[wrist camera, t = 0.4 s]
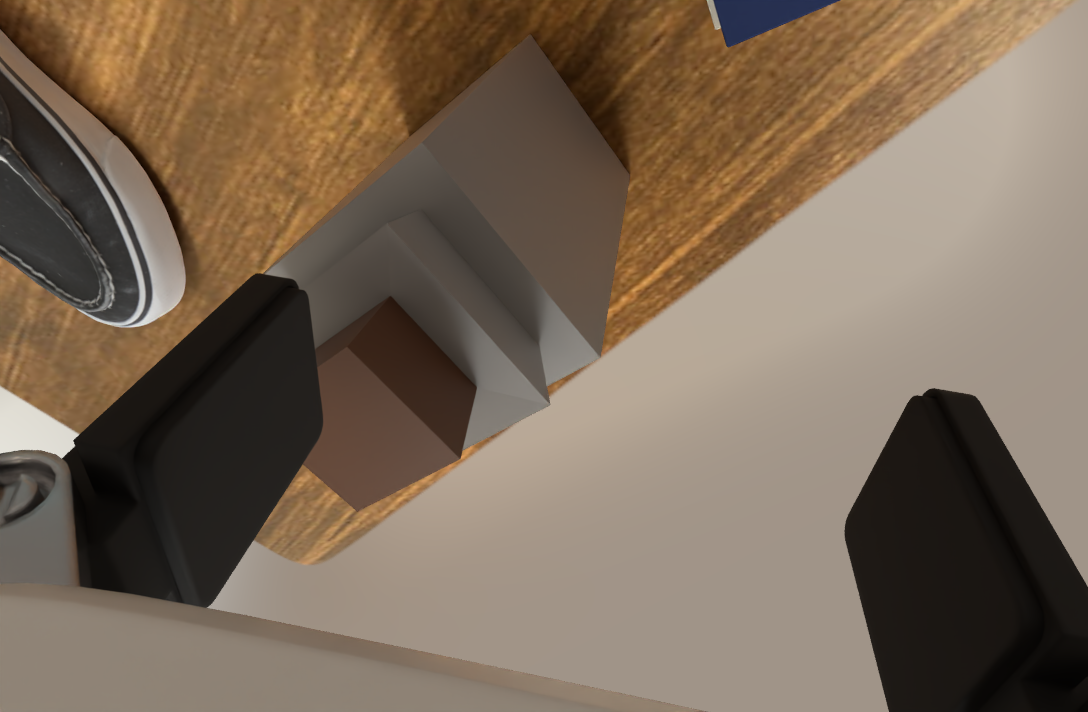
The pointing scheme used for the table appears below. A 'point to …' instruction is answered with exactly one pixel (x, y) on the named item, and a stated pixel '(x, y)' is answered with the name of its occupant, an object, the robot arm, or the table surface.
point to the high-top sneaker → (757, 15)
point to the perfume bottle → (460, 278)
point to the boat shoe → (80, 204)
